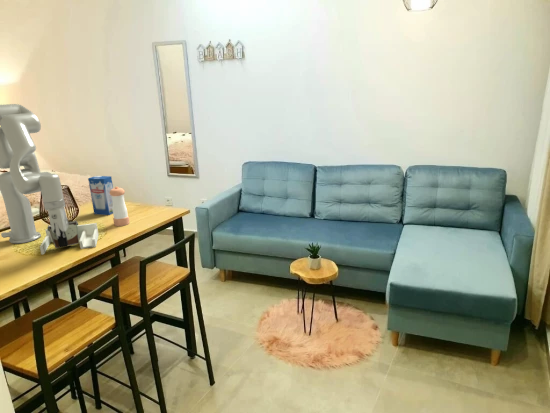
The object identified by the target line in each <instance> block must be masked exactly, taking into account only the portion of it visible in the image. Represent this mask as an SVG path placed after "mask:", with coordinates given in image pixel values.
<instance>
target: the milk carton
mask: <svg viewBox="0 0 550 413" xmlns="http://www.w3.org/2000/svg"><path fill="white" fill-rule="evenodd" d="M87 180H88V184H89V185H88V186H89V191H90V197H91V203H92V209H93V214H94V215H100V216H101V215H103V216H111V215H113V201H112V196H111V195H110V190H111V189H113V188H114V184H113V179H112V176H110V175H94V176H91V177H89V178H87Z"/></svg>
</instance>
